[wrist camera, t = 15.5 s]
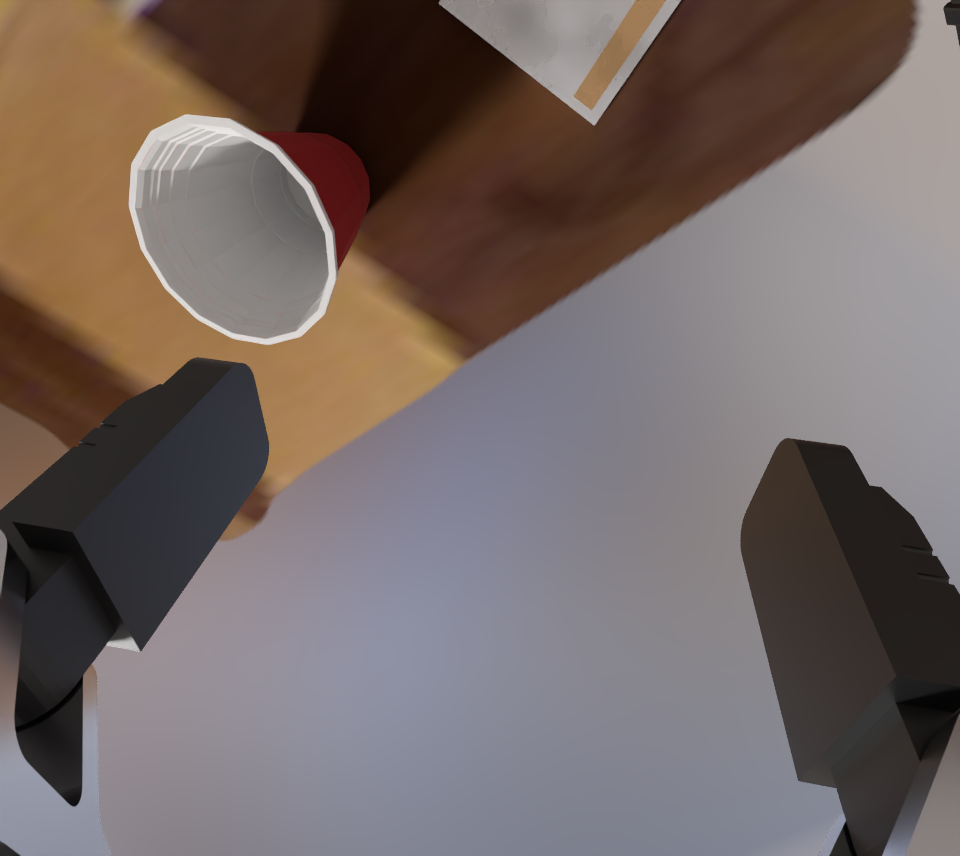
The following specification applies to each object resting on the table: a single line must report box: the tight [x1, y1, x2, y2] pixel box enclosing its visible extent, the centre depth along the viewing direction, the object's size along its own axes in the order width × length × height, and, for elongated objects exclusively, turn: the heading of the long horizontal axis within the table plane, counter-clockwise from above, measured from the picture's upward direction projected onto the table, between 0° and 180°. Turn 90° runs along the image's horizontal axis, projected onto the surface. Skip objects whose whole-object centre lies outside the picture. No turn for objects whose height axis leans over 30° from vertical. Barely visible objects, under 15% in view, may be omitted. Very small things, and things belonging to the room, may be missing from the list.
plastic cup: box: [129, 114, 370, 345], centre depth 32 cm, size 11×11×12 cm
